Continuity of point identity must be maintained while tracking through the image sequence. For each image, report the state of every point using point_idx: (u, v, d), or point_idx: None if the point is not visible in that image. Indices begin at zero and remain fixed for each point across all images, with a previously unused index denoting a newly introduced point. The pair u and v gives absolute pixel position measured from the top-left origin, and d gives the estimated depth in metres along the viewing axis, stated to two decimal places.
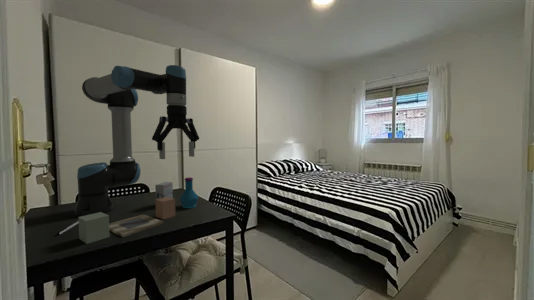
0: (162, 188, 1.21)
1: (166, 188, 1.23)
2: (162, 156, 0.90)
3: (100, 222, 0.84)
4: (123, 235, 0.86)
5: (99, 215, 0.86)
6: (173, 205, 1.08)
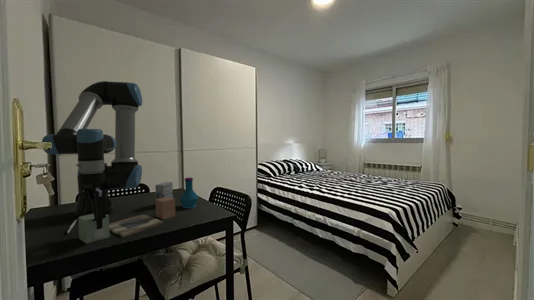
0: (162, 188, 1.21)
1: (166, 188, 1.23)
2: None
3: None
4: (123, 235, 0.86)
5: None
6: (173, 205, 1.08)
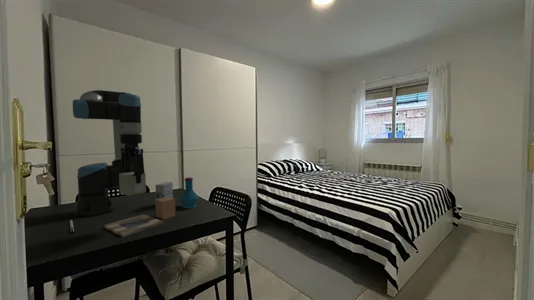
0: (162, 188, 1.21)
1: (166, 188, 1.23)
2: None
3: None
4: (123, 235, 0.86)
5: None
6: (173, 205, 1.08)
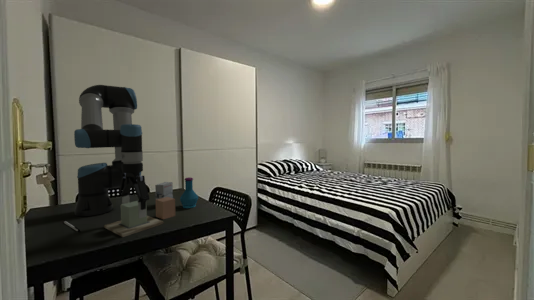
0: (162, 188, 1.21)
1: (166, 188, 1.23)
2: None
3: None
4: (123, 235, 0.86)
5: None
6: (173, 205, 1.08)
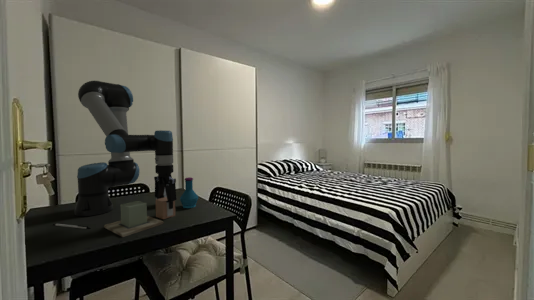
0: None
1: None
2: None
3: (140, 209, 0.95)
4: (123, 235, 0.86)
5: (138, 203, 0.97)
6: (173, 205, 1.08)
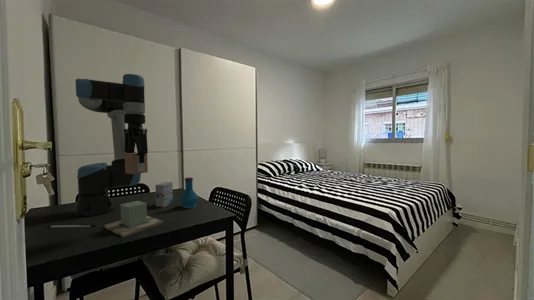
0: (162, 188, 1.21)
1: (166, 188, 1.23)
2: None
3: (140, 209, 0.95)
4: (123, 235, 0.86)
5: (138, 203, 0.97)
6: (145, 160, 0.97)
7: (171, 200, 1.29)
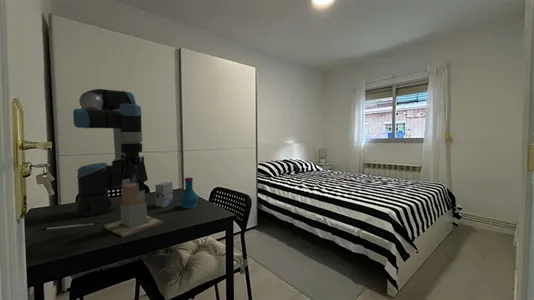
0: (162, 188, 1.21)
1: (166, 188, 1.23)
2: None
3: (140, 209, 0.95)
4: (123, 235, 0.86)
5: None
6: None
7: (171, 200, 1.29)
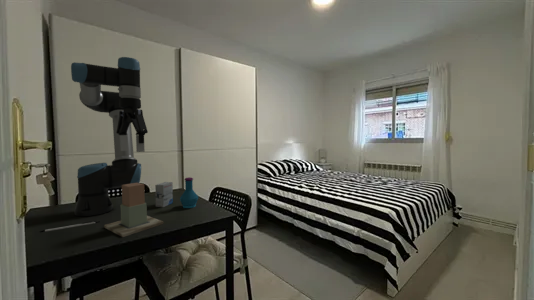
0: (162, 188, 1.21)
1: (166, 188, 1.23)
2: None
3: (140, 209, 0.95)
4: (123, 235, 0.86)
5: None
6: (142, 191, 0.96)
7: (171, 200, 1.29)
